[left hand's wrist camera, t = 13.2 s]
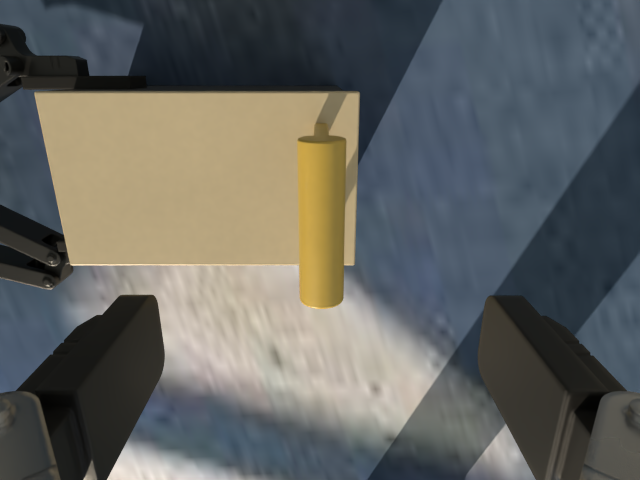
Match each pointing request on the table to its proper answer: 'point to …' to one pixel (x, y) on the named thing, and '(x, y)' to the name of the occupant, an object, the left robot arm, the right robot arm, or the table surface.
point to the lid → (208, 179)
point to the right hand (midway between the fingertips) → (149, 165)
